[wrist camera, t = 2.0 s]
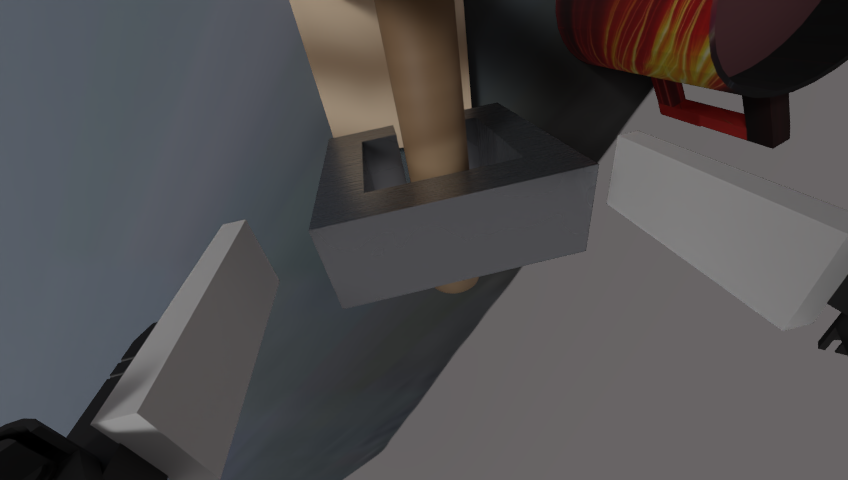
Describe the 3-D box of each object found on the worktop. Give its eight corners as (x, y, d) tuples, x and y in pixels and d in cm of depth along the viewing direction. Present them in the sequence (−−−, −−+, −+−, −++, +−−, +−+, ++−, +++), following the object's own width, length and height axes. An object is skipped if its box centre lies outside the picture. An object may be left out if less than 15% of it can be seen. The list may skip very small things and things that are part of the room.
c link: (348, 196, 17) (343, 309, 10) (329, 138, 15) (308, 230, 9) (498, 162, 17) (585, 250, 11) (497, 102, 16) (598, 164, 9)
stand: (276, -51, 18) (-382, -601, 2) (451, -84, 19) (1086, -757, 2) (345, 167, 26) (326, 428, 9) (469, 140, 26) (657, 344, 10)
